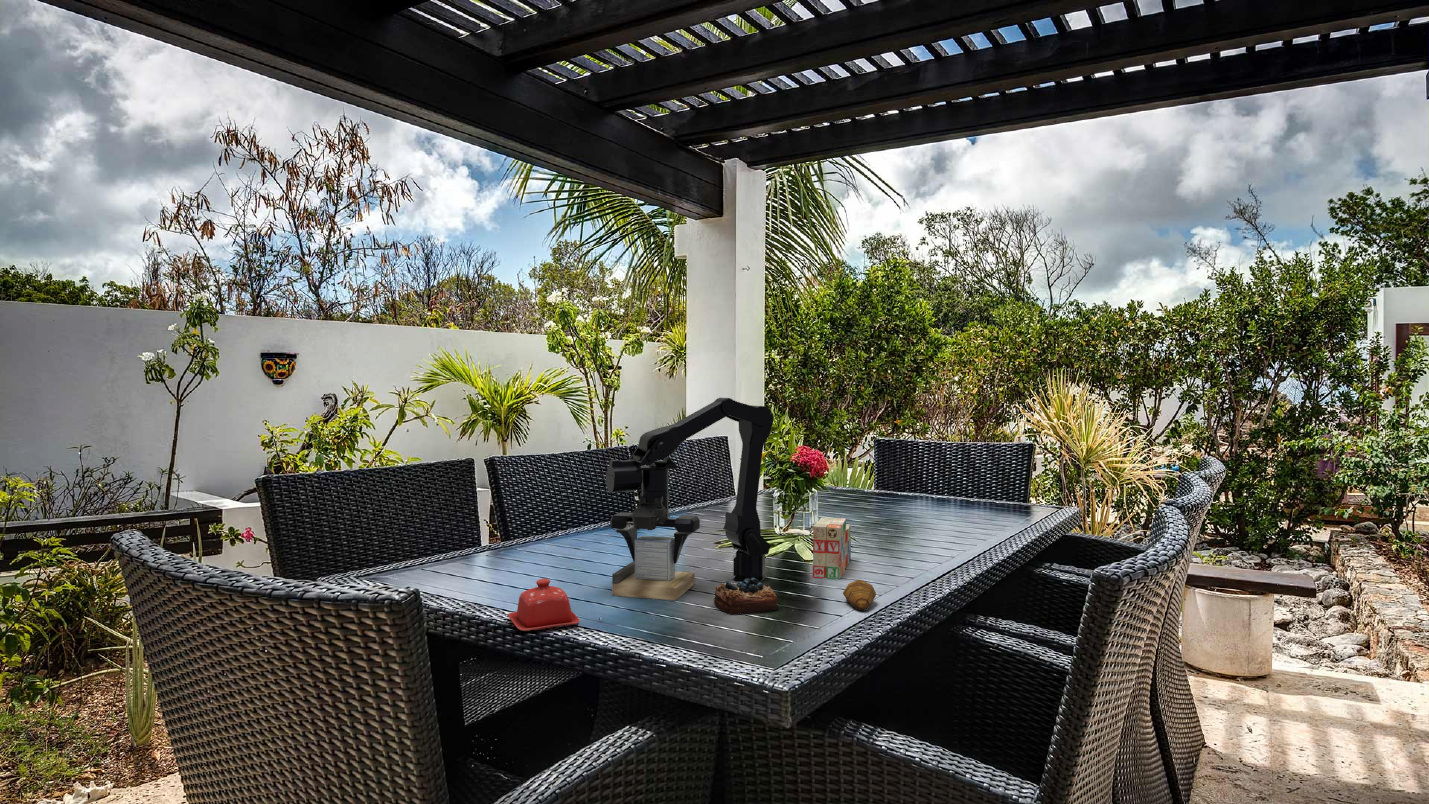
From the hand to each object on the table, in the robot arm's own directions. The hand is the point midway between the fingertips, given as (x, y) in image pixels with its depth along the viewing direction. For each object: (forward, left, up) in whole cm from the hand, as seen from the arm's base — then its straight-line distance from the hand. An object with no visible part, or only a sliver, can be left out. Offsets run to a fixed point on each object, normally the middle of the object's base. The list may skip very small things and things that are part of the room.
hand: (654, 561), depth 174 cm
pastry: (-22, +7, -6) cm, 24 cm away
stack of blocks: (-35, -30, -6) cm, 47 cm away
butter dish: (+12, +28, -6) cm, 32 cm away
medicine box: (0, 0, -4) cm, 4 cm away
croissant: (-44, -1, -6) cm, 44 cm away
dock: (0, 0, -6) cm, 6 cm away
